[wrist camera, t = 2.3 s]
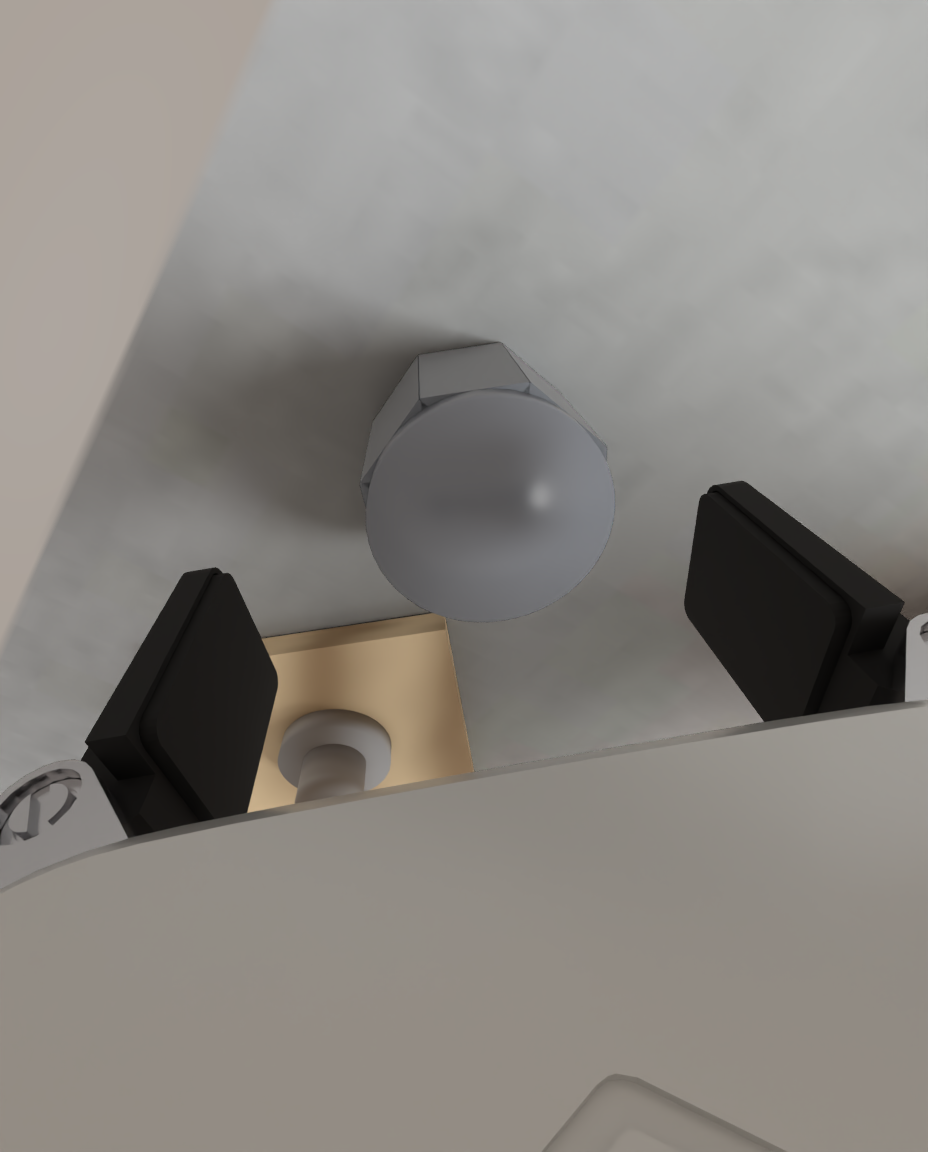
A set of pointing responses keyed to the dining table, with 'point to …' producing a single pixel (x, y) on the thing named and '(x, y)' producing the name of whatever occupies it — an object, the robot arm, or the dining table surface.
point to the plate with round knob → (361, 711)
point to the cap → (484, 487)
